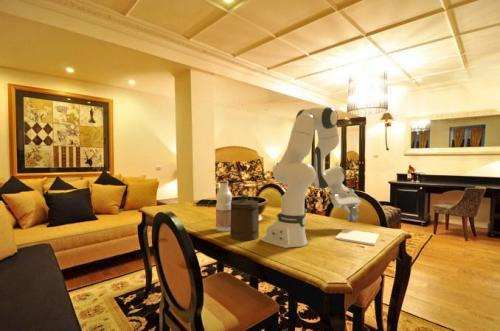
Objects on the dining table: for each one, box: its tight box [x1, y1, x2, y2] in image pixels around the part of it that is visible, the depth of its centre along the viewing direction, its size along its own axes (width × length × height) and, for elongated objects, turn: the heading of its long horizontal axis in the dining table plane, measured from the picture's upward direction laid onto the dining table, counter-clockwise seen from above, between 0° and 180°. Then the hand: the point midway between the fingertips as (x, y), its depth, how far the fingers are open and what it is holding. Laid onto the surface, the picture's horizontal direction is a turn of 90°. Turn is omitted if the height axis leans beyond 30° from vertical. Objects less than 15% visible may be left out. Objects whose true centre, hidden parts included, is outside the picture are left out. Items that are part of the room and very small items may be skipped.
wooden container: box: [229, 194, 260, 242], centre depth 131 cm, size 15×15×22 cm
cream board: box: [334, 228, 380, 246], centre depth 130 cm, size 18×18×1 cm
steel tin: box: [347, 206, 359, 223], centre depth 144 cm, size 5×5×8 cm
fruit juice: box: [215, 180, 233, 232], centre depth 144 cm, size 9×9×28 cm
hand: (353, 212), depth 143 cm, fingers closed on steel tin, 5 cm apart
